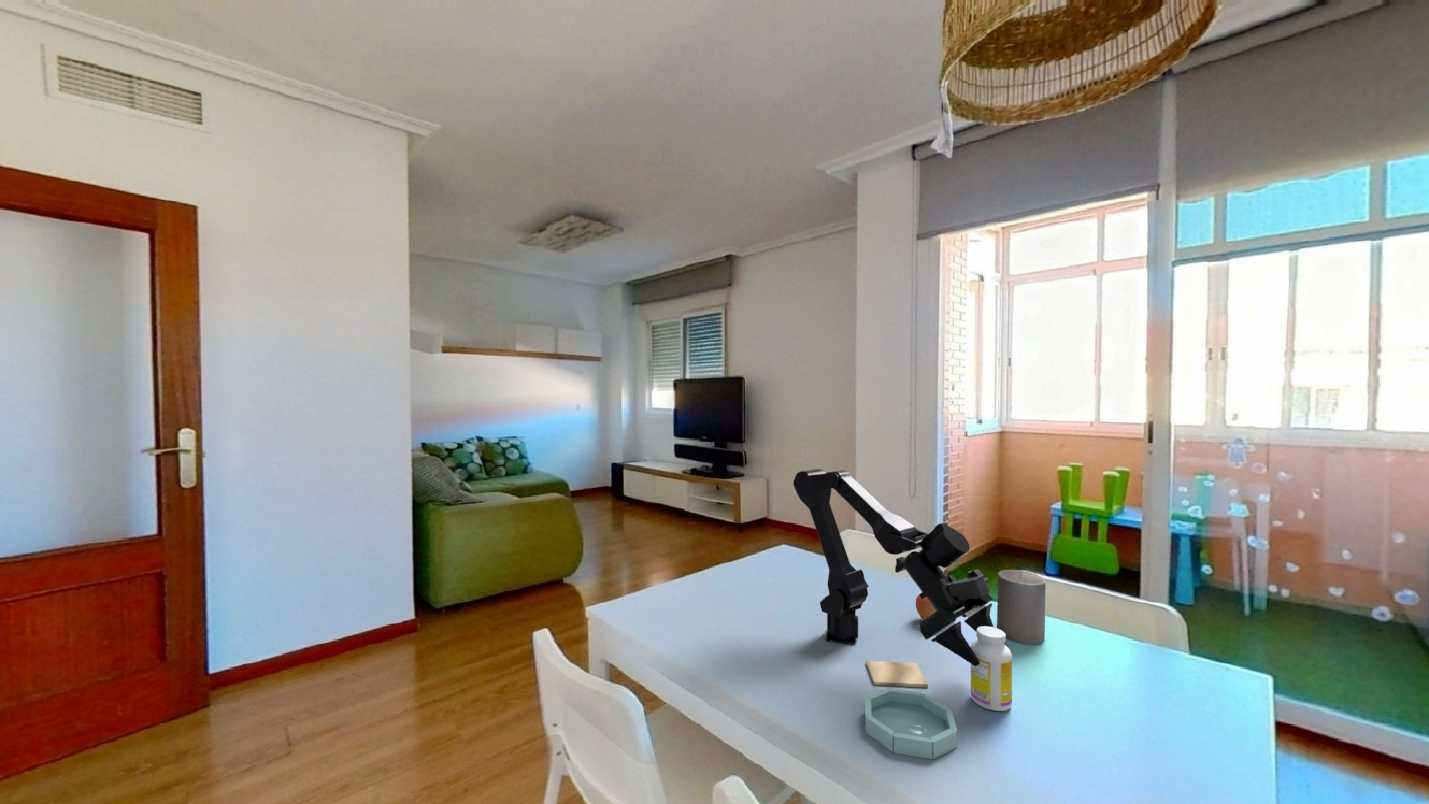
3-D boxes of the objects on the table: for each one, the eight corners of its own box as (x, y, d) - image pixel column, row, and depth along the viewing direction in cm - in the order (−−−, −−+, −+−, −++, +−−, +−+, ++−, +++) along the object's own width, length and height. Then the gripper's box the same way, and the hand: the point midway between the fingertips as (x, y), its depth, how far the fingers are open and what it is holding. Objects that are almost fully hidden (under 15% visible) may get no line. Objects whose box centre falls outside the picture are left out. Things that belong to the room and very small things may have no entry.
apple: (949, 630, 124) (949, 597, 124) (916, 626, 127) (916, 593, 127) (946, 618, 131) (946, 586, 131) (914, 614, 134) (915, 582, 134)
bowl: (865, 747, 83) (865, 731, 83) (864, 698, 97) (864, 684, 97) (962, 764, 79) (962, 747, 79) (947, 710, 93) (947, 696, 93)
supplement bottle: (1007, 695, 98) (1008, 626, 97) (1015, 716, 91) (1016, 642, 91) (968, 689, 100) (968, 621, 100) (972, 708, 94) (973, 636, 93)
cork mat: (874, 684, 101) (874, 681, 101) (866, 663, 109) (866, 660, 109) (928, 687, 100) (928, 684, 100) (916, 666, 108) (916, 663, 108)
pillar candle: (989, 625, 127) (989, 563, 127) (1030, 625, 127) (1031, 564, 126) (1010, 645, 117) (1011, 578, 117) (1055, 645, 117) (1056, 578, 117)
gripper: (934, 568, 94) (1000, 653, 85) (982, 548, 106) (1043, 621, 97) (895, 599, 100) (952, 681, 92) (943, 577, 112) (998, 648, 103)
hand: (989, 656), depth 96 cm, fingers open, 9 cm apart
